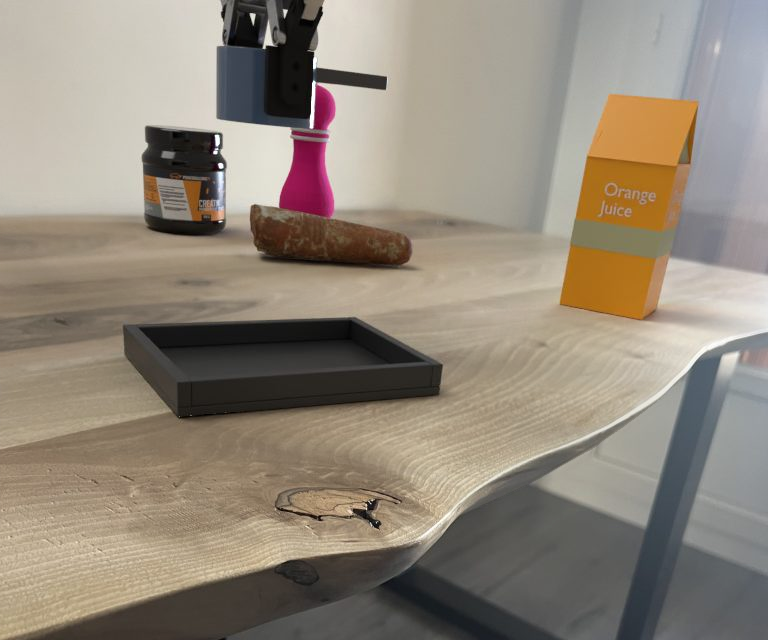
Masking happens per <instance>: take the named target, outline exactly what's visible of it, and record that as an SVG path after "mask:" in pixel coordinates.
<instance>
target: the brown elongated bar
mask: <svg viewBox="0 0 768 640" xmlns="http://www.w3.org/2000/svg"><path fill="white" fill-rule="evenodd" d="M249 209H250V210H249V211H250V212H249V224H250V231H251V233H252V235H253V245H254V247H255V248H256V250H257V252H261V253H264V254H265V255H267V256H272V257H275V258H280V259H290V260H291V259H293V260H294V259H296V260H305V261H316V262H317V261H319V262H335V263H345V264H359V265H384V266H385V265H387V266H401V265H405V264H407V263H409V262H410V260H411V258H412V256H413V252H414V251H413V250H414V249H413V248H414V247H413V243H412V239H411V238H410V237H409V236H408V235H407V234H406V233H402V232H398V231H393V230H389V229H385V228H379V227H375V226H369V225H365V224H360V223H356V222H355V223H354V222H350V221H346V220H342V219H337V218H332V217H331V218H327V217H323V216H318V215H312V214H307V213H303V212H298V211H292V210H288V209H283V208H279V206H278V207H277V206H272V205H271V206H270V205H262V204H258V203H254V204H252V205H250V208H249Z"/></svg>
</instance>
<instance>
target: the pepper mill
mask: <svg viewBox="0 0 768 640" xmlns="http://www.w3.org/2000/svg"><path fill="white" fill-rule="evenodd" d="M319 84H320V83H317V82H316V96H315V115H314V128H313V129H305V128H291V127H289V128H290V131H291V133H290V135H289V136H290V137H289V138H290V139H292V141H293V143H292V144H293V145H292V147H293V152H292V161H291V165H290V168H289V171H288V174H287V176H286V179H285V181H284V183H283V185H282V187H281V190H280V195H279V199H278V200H279V201H278V208H283V209H288V210H292V211H298V212H303V213H307V214H312V215H318V216H323V217H327V218H331V219H332V216H333V215H334V213H335V199H334V198H335V197H334V192H333V189H332V186H331V183H330V180H329V176H328V172H327V166H326V149H327V143H330V142H331V139H330V134H331V130H329V129H328V128H329V126H330V124H331V123H332V122H333V121H334V119H335V117H336V112H337V111H336V110H337V108H336V106H337V105H336V101H335V98H334V96H333V94H332V93H331V92H330V90H329V89H327V88H326V87H324V86H321V85H319Z"/></svg>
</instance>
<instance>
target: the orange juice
mask: <svg viewBox="0 0 768 640" xmlns="http://www.w3.org/2000/svg"><path fill="white" fill-rule="evenodd" d="M699 103H700V101H699V100H686V99H677V98H665V97H652V96H643V95H641V96H639V95H630V94H629V95H628V94H618V93H617V94H616V93H609V94H608V97H607V100H606V102H605V104H604V108H603V110H602V114H601V116H600V119H599V122H598V125H597V127H596V130H595V133H594V135H593V138H592V141H591V144H590V147H589V149H588V152H587V154H586V158H585V159H586V160H585V165H584V171H583V174H582V181H581V187H580V191H579V197H578V203H577V208H576V211H575V212H576V213H575V217H574V221H573V226H572V231H571V237H570V243H569V245H570V246H569V249H568V250H569V251H568V256H567V261H566V266H565V272H564V277H563V283H562V288H561V293H560V299H559V304H558V305H562V306H568V307H572V308H579V309H583V310H588V311H594V312H598V313H603V314H610V315H615V316H620V317H625V318H630V319H635V320H639V321H642V320H644V319H645V318H646V317H648V316H649V315H650V314H652V313H653V312H655V311H656V310H657V309H658V305H659V301H660V297H661V293H662V288H663V284H664V279H665V276H666V271H667V268H668V264H669V259H670V255H671V252H672V249H673V245H674V240H675V237H676V232H677V227H678V221H679V217H680V213H681V210H682V205H683V200H684V197H685V193H686V188H687V184H688V180H689V175H690V172H691V168H692V156H693V148H694V141H695V134H696V126H697V117H698V111H699V110H698V109H699Z"/></svg>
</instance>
